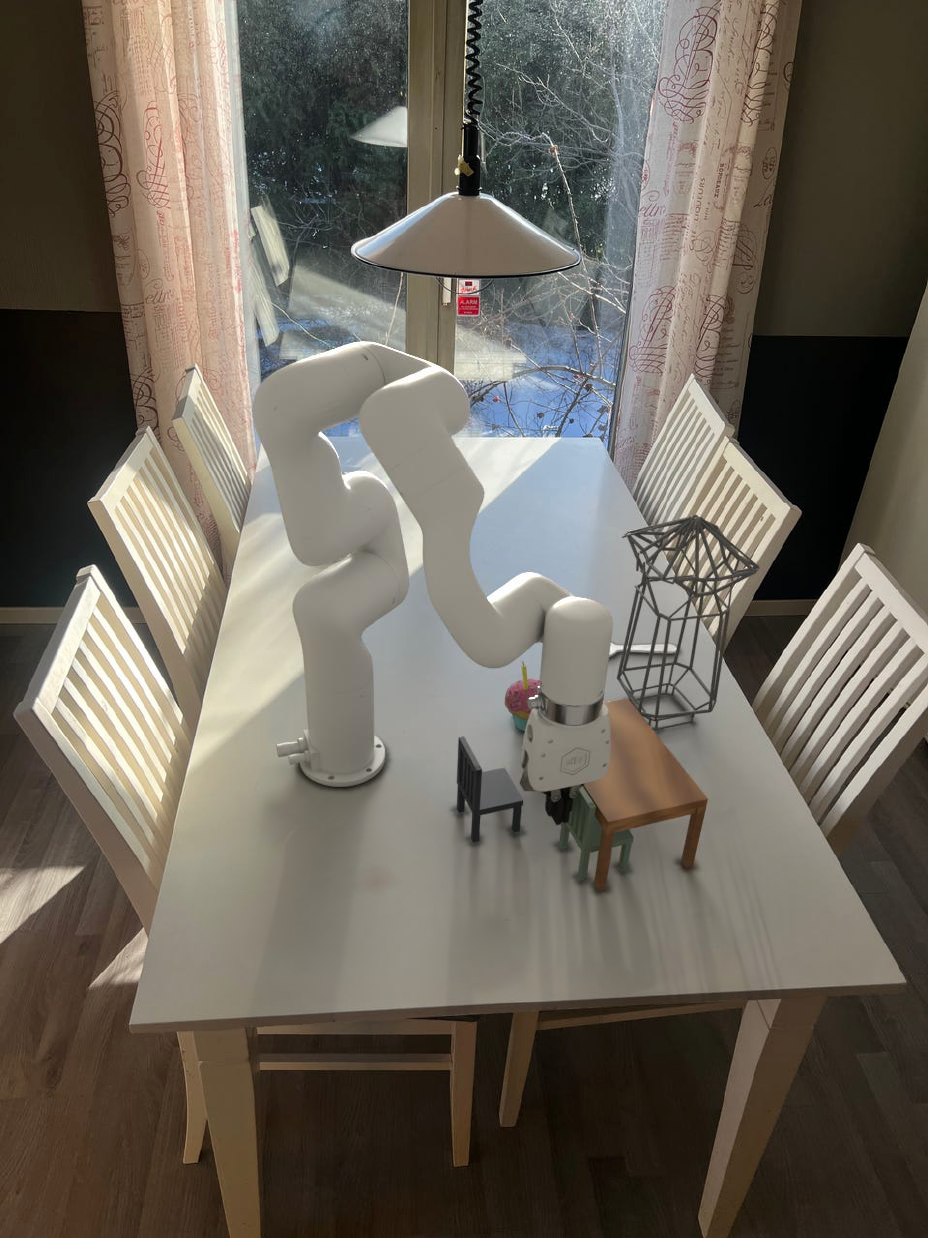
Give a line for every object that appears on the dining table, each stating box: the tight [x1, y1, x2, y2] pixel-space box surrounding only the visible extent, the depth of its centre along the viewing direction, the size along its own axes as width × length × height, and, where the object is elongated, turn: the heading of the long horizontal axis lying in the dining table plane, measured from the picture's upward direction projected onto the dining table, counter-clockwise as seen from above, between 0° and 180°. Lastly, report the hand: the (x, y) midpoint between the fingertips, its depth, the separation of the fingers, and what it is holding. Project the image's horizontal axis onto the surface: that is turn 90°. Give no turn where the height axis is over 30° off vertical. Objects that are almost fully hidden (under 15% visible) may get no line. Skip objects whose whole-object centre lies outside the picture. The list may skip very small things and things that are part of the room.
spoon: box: [609, 641, 677, 658], centre depth 173 cm, size 5×18×1 cm, turn 92°
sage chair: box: [558, 786, 635, 881], centre depth 128 cm, size 7×7×13 cm
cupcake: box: [504, 660, 540, 732], centre depth 152 cm, size 9×8×12 cm
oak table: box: [583, 697, 709, 892], centre depth 134 cm, size 14×22×12 cm, turn 19°
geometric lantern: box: [616, 513, 761, 731], centre depth 149 cm, size 16×16×35 cm
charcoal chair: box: [456, 735, 524, 843], centre depth 133 cm, size 7×7×13 cm
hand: (557, 816), depth 124 cm, fingers closed
